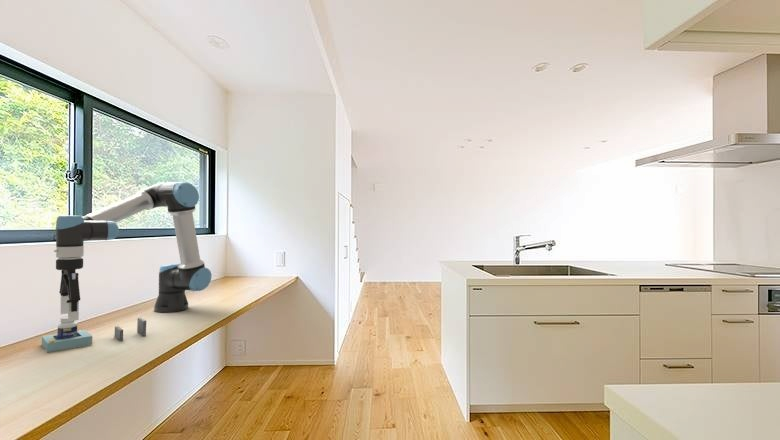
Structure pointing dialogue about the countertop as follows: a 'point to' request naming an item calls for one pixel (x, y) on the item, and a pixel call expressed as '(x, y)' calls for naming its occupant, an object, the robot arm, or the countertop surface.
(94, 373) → the countertop surface
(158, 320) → the countertop surface
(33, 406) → the countertop surface
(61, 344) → the frame
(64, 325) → the pill bottle
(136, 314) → the countertop surface
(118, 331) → the gray upright plates
